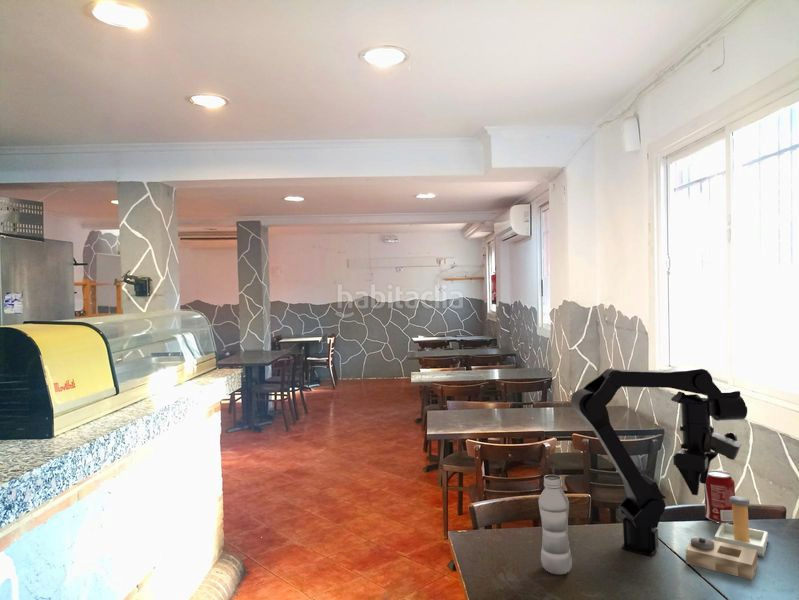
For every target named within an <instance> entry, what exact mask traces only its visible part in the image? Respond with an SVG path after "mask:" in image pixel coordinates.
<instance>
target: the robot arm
mask: <svg viewBox="0 0 799 600" xmlns="http://www.w3.org/2000/svg"><path fill="white" fill-rule="evenodd" d="M622 387H623V388H661V389H663V388H664V389H665V388H666V389H667V388H669V389H674V390H678V391H677V393H676V394H675V395H673V396H672V397H671V398H670V400H671V401H672V402H675V403H677V404H680V408H681V410H680V411H681V425H680V426H679V431H681V432H682V442H681V443H680V450H679V451H677V452H676V453H675V454H674V455H673V465H674V466H675V468H676V469H677V470H678V471H679V473H680V474H681V476H682V478H683V480H684V482H685V484H686V486H687V487H688V489H689V491H690V493H691V495H692V496H698V495H699V491H700V490H699V489H700V483H701V484H703V485H704V484H706V481H707V476H708V471H709V470H710V466H711V462H712V460H714V459H715V458H717V456H718V455H719V454H720V455H722V456H724V457H726V458H727V459H729V460H733V461H734V460H736V458H737V455H739V454H738V453H739V451H740V448H741V446H742V443H741V441H740V440H738V437H737V434H736V433H735V432H732V431H728V432H727V433H725V434H724V435H723V434H722V433H717V432H716V431H715V428H714V426H713V425H712V424H711V418H712V419H713V420H715V421H719V422H720V421H742V420H745V419H746V417H747V416H748V406H747V405H746V402H745V400H744V398H743V397H742V396H741V391H739V390H737V389H727V390H720V388H719V387H718V386H717V385H716V383H715V382H714V381H713V377H712V374H711V373H710V372H709V371H708V369H707V370H706V369H705V368H699V367H695V366H690V365H684V366H683V365H682V366H677V367H672V368H669V369H664V370H655V369H653V370H652V369H651V370H647V369H645V370H644V369H616V368H606V369H605V370H604V371H603V372H602V373H601V374H600V375H598V376H597V377H596V378H594V379H592V381H590V382H588V383H587V384H586V385H585V386H583V388H580V389H578V390H576V391H574V393H573V394H572V395H571V399H570V404H571V407H572V408H573V410H574V411H575V412H576V413H577V415H579V417H580V418H581V419H582V420H583V421H584V422H585V423H586V424H587V425H588V426H589V427H590V428H591V429H592V431H593V433H594V434H595V436H596V437H597V439H598V441H599V443H600V444H601V446H602V447H603V449H604V451H605V452H606V454H607V455H608V456H607V457H609V459H610V461H611V462H612V464H613V465H614V467H615V469H616V470H617V473H618V474H619V475H620V477H621V479H622V482H623V485H624V486H623V488H624V491H625V494H626V497H625V498H624V499H623V500H622V501H621V502H620V503H619V505H618V508H619V511H620V513H621V515H623V516H624V518H623V519H622V530H623V533H622V535H623V544H622V545H621V549H622V550H626V551H630V552H634V553H638V554H641V555H646V556H648V557H649V556H650V557H651V556H653V554H654V553H655V551H657V549H658V548H659V543H660V542H659V529H658V525H659V523H660V520H661V517H662V515H663V513H664V512H665V510H666V507H667V506H666V502H665V500H664V499H666V496H665V495H663V494H662V492H661V490H660V488H659V486H658V483H657V482H656V481H655V480H654V479H652V478H651V477H649V476H648V475H646V474H645V473H643V474H641V472H640V470H639V469H638V467H637V466H636V464H635V462H634V461H633V459H632V457H631V455H630V454H629V452H628V450H627V449H626V448H625V447H626V446H625V445H624V444H623V443H622V441H621V439H620V437H619V436H618V434H617V432H616V430H615V429H614V428H613V426H612V423H611V420H610V415H609V411H608V409H607V405H608V404H609V403H611V401H612V400H613V399H614V397H615V396H616V395H617V392H618V391H619V390H620V389H621V388H622ZM682 391H683V392H682ZM685 392H688V393H691V394H685ZM692 393H693V394H692ZM700 395H702V396H706V397H701V396H700Z"/></svg>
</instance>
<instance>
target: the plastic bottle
mask: <svg viewBox="0 0 799 600" xmlns="http://www.w3.org/2000/svg"><path fill="white" fill-rule="evenodd" d="M543 486H544V489H543V490H542V492H541V494H540V495H539V497H538V502H537V503H538V507H539V508H538V509H539V513H540V520H541V527H542V528H541V529H542V539H541V540H542V543H541V552H540V561H541V566H542V567H543V568H544V570H545V571H546V572H547V571H548V572H547V573H549V572H550V573H549V574H553V575H558V576H559V575H566V574H568V573H569V572H570V570H571V569H572V565H573V564H572V563H573V558H572V553H571V549H570V542H569V534H568V531H569V530H568V529H569V528H568V527H569V526H568V524H569V523H568V521H569V509H570V502H569V500H568V496H567V495H566V494H565V492H564V491H563V489H562V487H563V483H562V477H561V476H560V475H557V474H547V475H544V476H543ZM567 572H568V573H567Z"/></svg>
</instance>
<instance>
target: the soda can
mask: <svg viewBox="0 0 799 600" xmlns="http://www.w3.org/2000/svg"><path fill="white" fill-rule="evenodd" d="M735 487H736V486H735V481H734V479H733V478H732V474H731V473H730V472H728V471H724V470H720V469H719V470H717V469H709V471H708V476H707V481H706V484H703V491H704V492H703V493H704V494H703V495H704V514H705V518H707V519H708V520H710V521H711V522H713V521H714V522H713V523H715V522H719V523H731V524H733V512H732V503H731V502H730V497H731V496H736V488H735ZM719 523H718V524H719Z"/></svg>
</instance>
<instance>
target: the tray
mask: <svg viewBox="0 0 799 600" xmlns="http://www.w3.org/2000/svg"><path fill="white" fill-rule="evenodd" d="M749 539H750V543H748V542H744V541H739V540H734V528H733V524H732V523H731V524H726V523H721V524H719V527H718V529H717V530H716V533H715V535H714V541H719V542H723V543H728V544H732V545H737V546H741V547H746V548H750V549H755V550H757V557H764V556H765V554H764V553H766V551H767V547H766V546H768V544H767V542H768V543H769V536H768V531H765V530H759V529H754V528H750V527H749Z"/></svg>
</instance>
